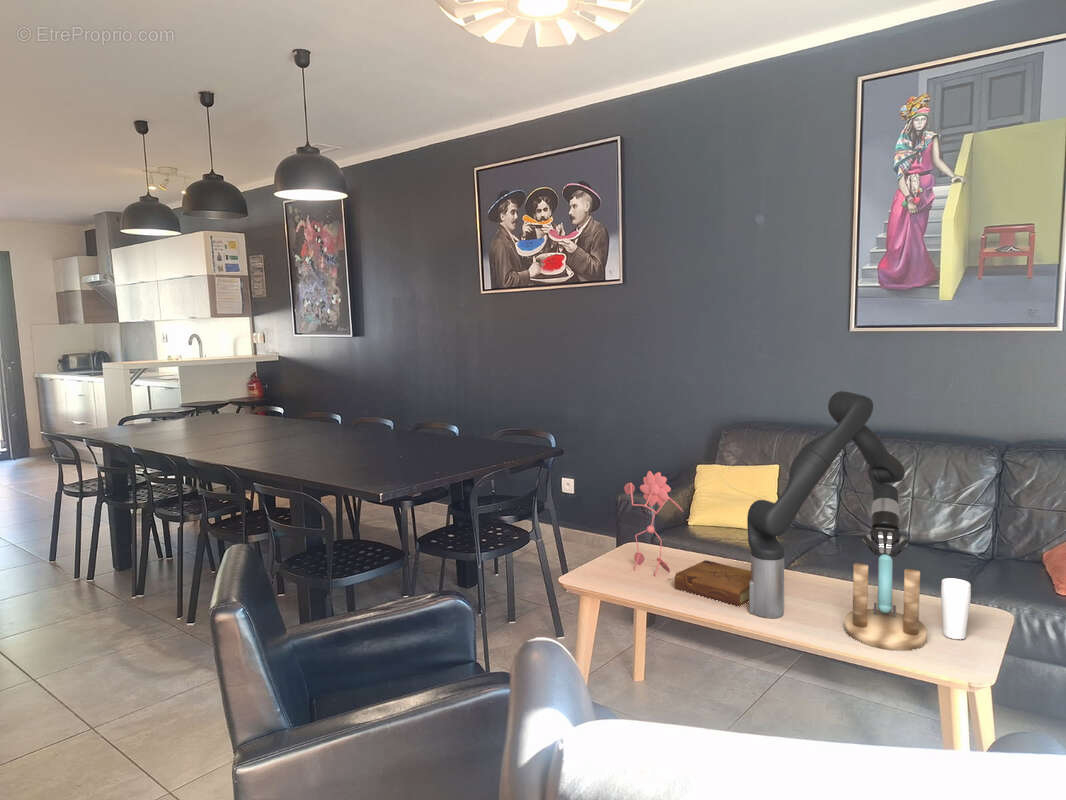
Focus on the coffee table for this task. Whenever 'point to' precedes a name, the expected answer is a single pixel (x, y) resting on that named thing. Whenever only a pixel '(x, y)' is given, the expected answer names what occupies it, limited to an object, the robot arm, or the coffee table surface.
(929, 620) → the coffee table surface
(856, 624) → the stool
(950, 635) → the drinking glass
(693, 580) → the diary
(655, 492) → the figurine
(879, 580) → the teal capsule cylinder
